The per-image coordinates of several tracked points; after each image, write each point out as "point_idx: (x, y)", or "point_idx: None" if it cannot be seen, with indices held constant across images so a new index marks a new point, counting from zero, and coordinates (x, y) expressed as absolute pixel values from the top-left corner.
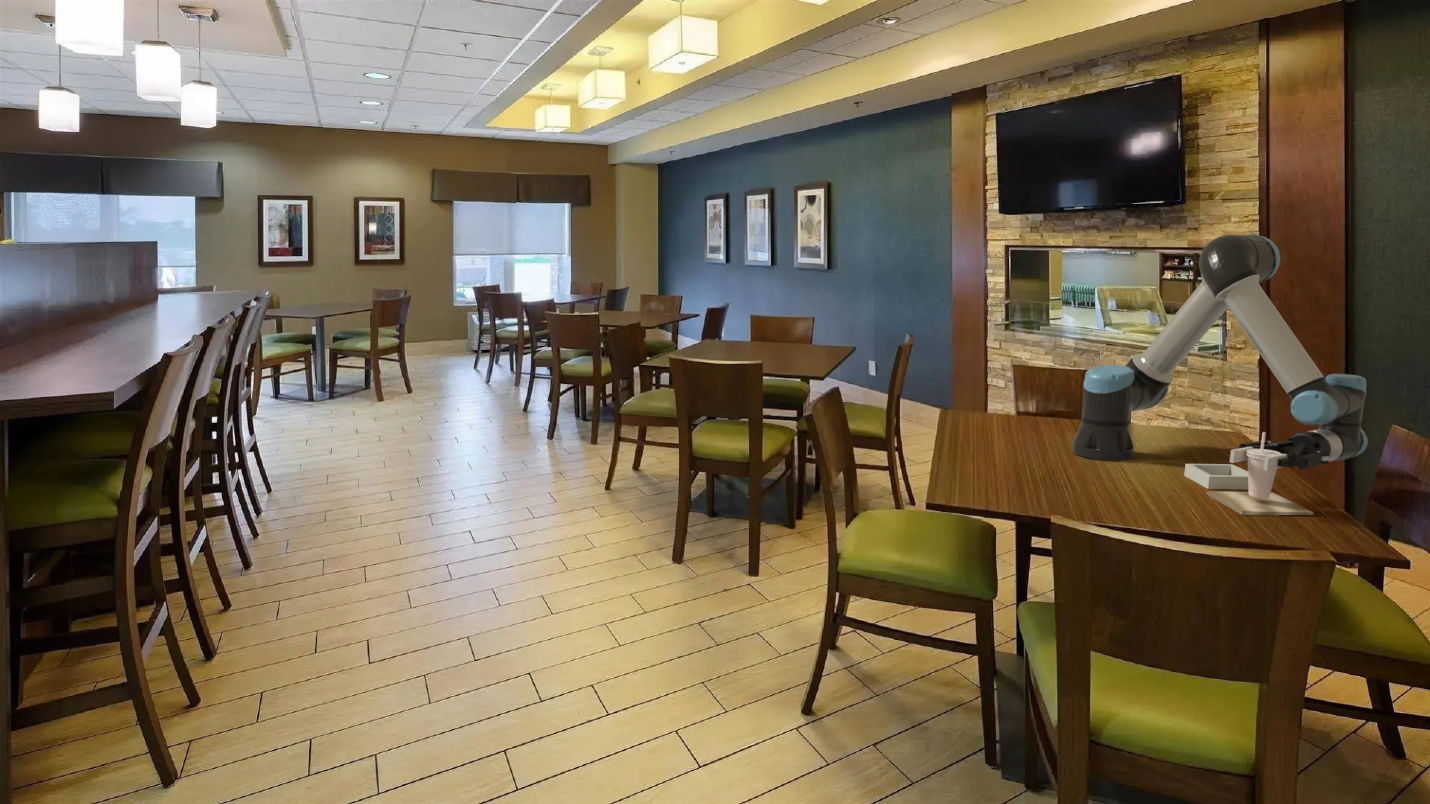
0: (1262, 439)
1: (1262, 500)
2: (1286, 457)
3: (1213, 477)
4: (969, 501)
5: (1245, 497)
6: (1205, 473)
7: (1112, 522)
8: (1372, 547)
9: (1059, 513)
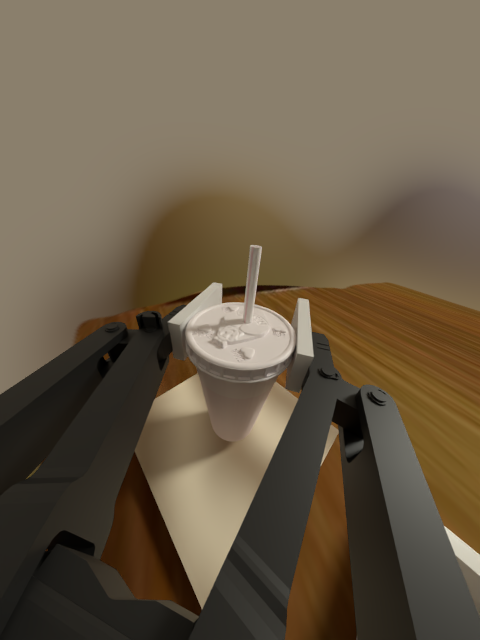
0: (253, 276)
1: (225, 442)
2: (171, 328)
3: None
4: (379, 285)
5: (262, 439)
6: (465, 550)
7: (300, 291)
8: (88, 331)
9: (334, 290)
